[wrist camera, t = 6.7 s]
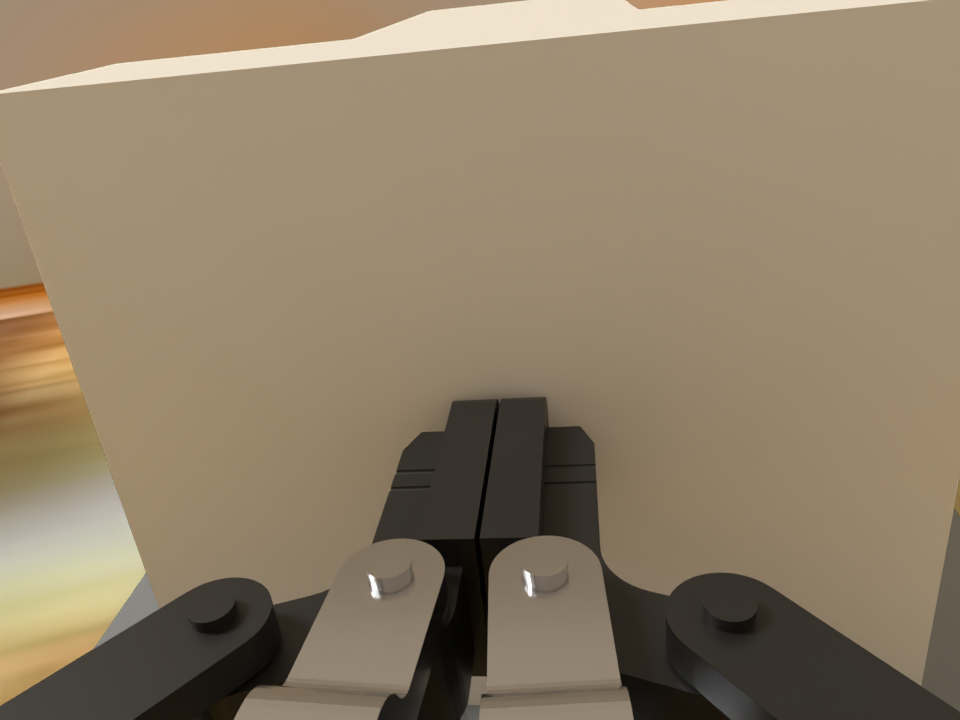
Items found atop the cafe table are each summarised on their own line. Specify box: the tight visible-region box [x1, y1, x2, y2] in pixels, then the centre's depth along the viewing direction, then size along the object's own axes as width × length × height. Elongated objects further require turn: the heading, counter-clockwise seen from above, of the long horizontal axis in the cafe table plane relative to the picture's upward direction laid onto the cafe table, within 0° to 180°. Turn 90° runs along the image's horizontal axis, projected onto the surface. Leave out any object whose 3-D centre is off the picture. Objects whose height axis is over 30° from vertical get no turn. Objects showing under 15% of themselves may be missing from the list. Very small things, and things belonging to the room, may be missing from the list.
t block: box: [0, 0, 960, 705], centre depth 19 cm, size 14×13×12 cm
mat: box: [95, 509, 960, 720], centre depth 24 cm, size 20×32×1 cm, turn 174°
